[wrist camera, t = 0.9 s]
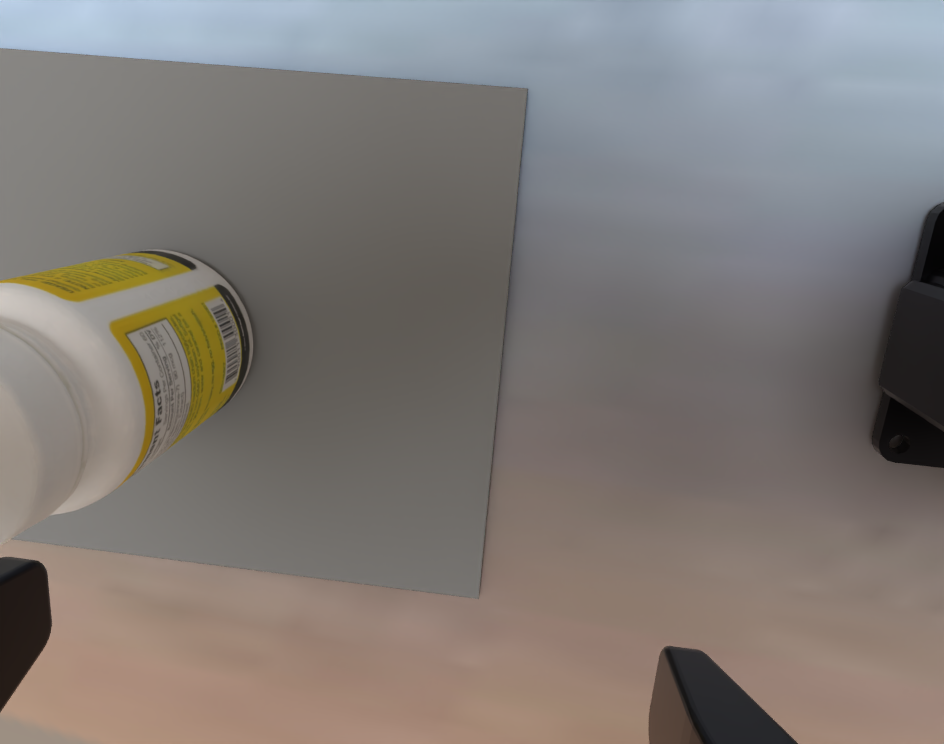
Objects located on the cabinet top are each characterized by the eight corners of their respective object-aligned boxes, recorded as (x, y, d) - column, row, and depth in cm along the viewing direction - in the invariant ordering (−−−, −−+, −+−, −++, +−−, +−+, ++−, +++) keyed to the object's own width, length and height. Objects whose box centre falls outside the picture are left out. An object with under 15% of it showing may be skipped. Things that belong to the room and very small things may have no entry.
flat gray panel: (527, 89, 17) (527, 88, 17) (479, 594, 21) (478, 598, 21) (-236, 31, 19) (-244, 29, 19) (-152, 514, 23) (-158, 517, 22)
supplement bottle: (59, 335, 20) (-265, 446, 12) (154, 209, 19) (-136, 239, 11) (192, 449, 21) (-33, 628, 13) (293, 334, 19) (115, 450, 11)
